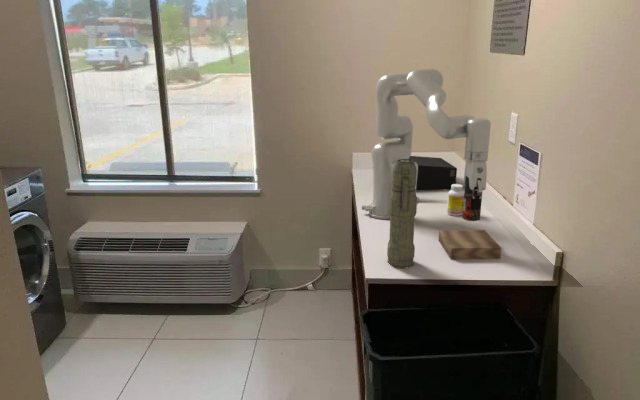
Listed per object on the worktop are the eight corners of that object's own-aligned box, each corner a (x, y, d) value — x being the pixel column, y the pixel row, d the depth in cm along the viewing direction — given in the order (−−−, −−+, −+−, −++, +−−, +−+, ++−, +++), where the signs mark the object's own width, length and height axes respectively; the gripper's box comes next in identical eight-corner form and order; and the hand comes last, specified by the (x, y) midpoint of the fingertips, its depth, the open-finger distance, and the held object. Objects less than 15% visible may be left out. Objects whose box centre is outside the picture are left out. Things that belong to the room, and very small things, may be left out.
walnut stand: (450, 259, 166) (451, 248, 165) (438, 240, 183) (439, 230, 182) (500, 258, 167) (501, 247, 165) (483, 240, 183) (484, 230, 182)
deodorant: (483, 219, 170) (487, 177, 166) (470, 222, 167) (474, 179, 163) (471, 214, 175) (474, 173, 171) (458, 217, 172) (461, 176, 168)
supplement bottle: (463, 216, 208) (465, 187, 204) (447, 215, 209) (449, 187, 206) (462, 212, 214) (464, 183, 211) (446, 211, 216) (448, 183, 212)
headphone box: (377, 179, 270) (378, 154, 266) (439, 177, 273) (441, 152, 269) (388, 191, 246) (389, 164, 242) (455, 189, 249) (457, 162, 245)
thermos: (390, 270, 158) (394, 165, 148) (384, 256, 169) (387, 157, 159) (417, 269, 159) (423, 164, 148) (409, 255, 170) (414, 156, 160)
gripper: (496, 160, 156) (491, 214, 162) (479, 150, 173) (474, 199, 178) (472, 161, 156) (468, 214, 162) (457, 150, 173) (454, 199, 178)
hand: (471, 206), depth 170 cm, fingers closed on deodorant, 5 cm apart
